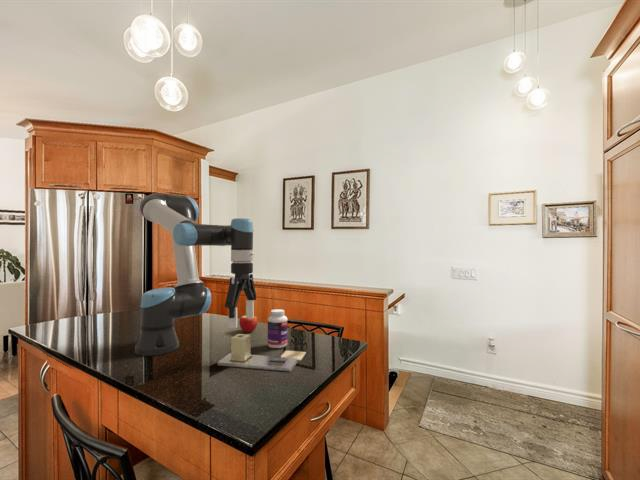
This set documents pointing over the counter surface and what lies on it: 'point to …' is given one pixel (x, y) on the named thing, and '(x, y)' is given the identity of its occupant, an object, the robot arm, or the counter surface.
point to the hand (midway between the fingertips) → (241, 322)
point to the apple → (248, 323)
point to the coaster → (294, 354)
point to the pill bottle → (277, 329)
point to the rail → (261, 362)
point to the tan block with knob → (241, 348)
